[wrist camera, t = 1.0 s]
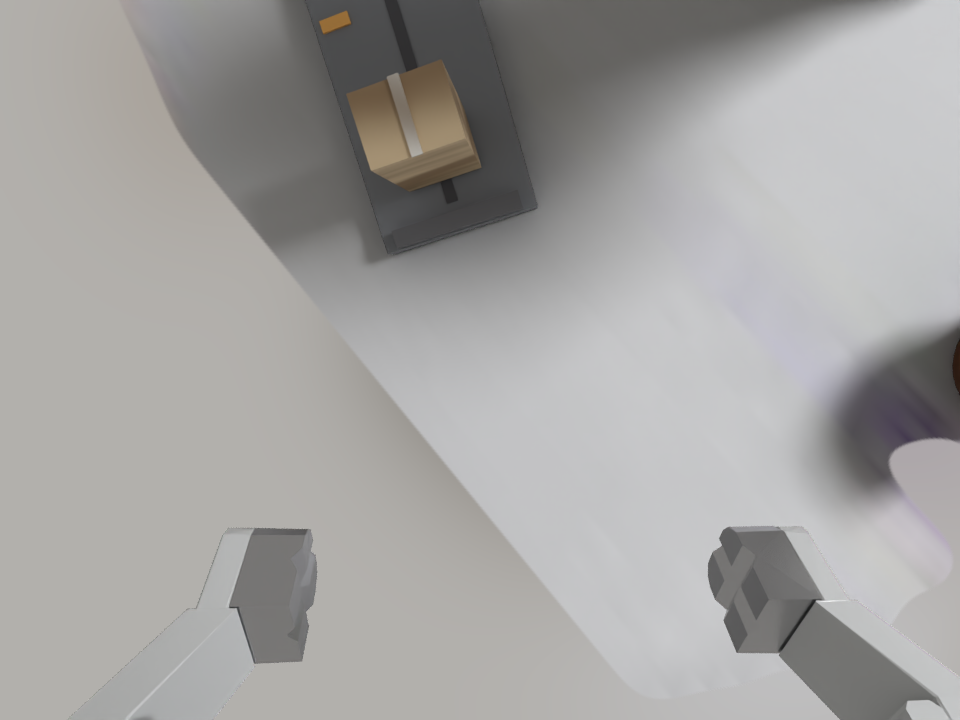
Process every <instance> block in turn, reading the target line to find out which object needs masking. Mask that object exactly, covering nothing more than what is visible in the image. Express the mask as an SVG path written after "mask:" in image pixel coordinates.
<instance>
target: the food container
mask: <svg viewBox="0 0 960 720" xmlns="http://www.w3.org/2000/svg"><path fill="white" fill-rule="evenodd" d="M953 377H954V381H955V385H956V388H957V390H958V392H959V394H960V339H959V342H958V344H957V346H956V349H955V353H954V358H953Z"/></svg>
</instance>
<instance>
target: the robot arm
mask: <svg viewBox="0 0 960 720" xmlns="http://www.w3.org/2000/svg"><path fill="white" fill-rule="evenodd" d="M719 539H720V541H721V544H722V546H721V547H720V548H718V549H717V550H715V551H714V552H713V553H712V555H711V558H710V560H709V563H708V578H709V583H710V588H711V590H712V593H713V595H714V598H715V600H716V601H718V602H719V603H720V604H721V605H722V606H723V607H724V608H725V609H727V611H726V614H725V617H724V623H725V625H726V628H727V630H728V633H729V635H730V637H731V640H732V642H733V645H734V647H735V650H736V652H737V653H780V654H779V656H780V657H781V658H782V660H783V661H784V662H785V663H786V664H787V665H788V666H789V667H790V668H791V669H792V670H793V671H794V672H795V673H796V674H797V675H798V676H799V677H800V678H801V679H802V680H803V681H804V682H805V684H806V685H807V686H808V687H809V688H810V689H811V690H812V691H813V692H814V693H815V694H816V695H817V696H818V697H819V698H820V699H821V700H822V701H823V702H824V703H825V704H826V705H827V707H829V709H830V710H831V711H832V712H833V713H834V714H835V715H836V716H837V717H838V718H839V719H840V720H960V677H959V676H958V675H957V674H955V673H954V672H953V671H951V670H950V669H949V668H947V667H946V666H945V665H943V664H942V663H941V662H939V661H938V660H936V659H935V658H934V657H933V656H931V655H930V654H929V653H927V652H926V651H924V650H923V649H922V648H920V647H919V646H918V645H917V644H915V643H914V642H913V641H911V640H910V639H909V638H907V637H906V636H905V635H903V634H902V633H901V632H899V631H898V630H897V629H895V628H894V627H893V626H891V625H890V624H889V623H887V622H886V621H885V620H883V619H882V618H881V617H879V616H878V615H877V614H875V613H874V612H873V611H871V610H870V609H869V608H867V607H866V606H865V605H863V604H862V603H861V602H859V601H858V600H850V599H849V597H848V596H847V594H846V593H845V591H844V589H843V588H842V586H841V584H840V583H839V581H838V579H837V578H836V576H835V575H834V573H833V571H832V570H831V568H830V566H829V565H828V563H827V561H826V560H825V558H824V557H823V555H822V553H821V552H820V550H819V548H818V547H817V545H816V543H815V542H814V540H813V539H812V537H811V535H810V534H809V532H808V531H807V530H806V529H804V528H803V527H797V526H794V527H774V526H750V527H727V528H726V529H724V530H723V531H722V534H721V536H720V538H719ZM312 542H313V538H312V533H311V530H310V529H275V528H228V529H227V530H226V531H225V533H224V534H223V536H222V538H221V541H220V543H219V546H218V549H217V552H216V554H215V557H214V560H213V563H212V566H211V569H210V571H209V574H208V577H207V579H206V582H205V585H204V588H203V590H202V593H201V596H200V599H199V602H198V604H197V607H196V608H192V609H187V610H186V611H185V612H184V613H182V614H181V615H180V616H179V617H178V618H177V619H176V620H175V621H174V622H173V623H172V624H171V625H169V626H168V627H167V628H166V629H165V630H164V631H163V632H162V633H161V634H160V635H159V636H157V637H156V638H155V639H154V640H153V641H152V642H151V643H150V644H149V645H148V646H146V647H145V648H144V649H143V650H142V651H141V652H140V653H139V654H138V655H137V656H136V657H135V658H134V659H132V660H131V661H130V662H129V663H128V664H127V665H126V666H125V667H124V668H123V669H121V670H120V671H119V672H118V673H117V674H116V675H115V676H114V677H113V678H112V679H111V680H110V681H108V682H107V683H106V684H105V685H104V686H103V687H102V688H101V689H100V690H99V691H98V692H96V693H95V694H94V695H93V696H92V697H91V698H90V699H89V700H88V701H87V702H86V703H85V704H84V705H82V706H81V707H80V708H79V709H78V710H77V711H76V712H75V713H74V714H73V715H71V716H70V717H69V718H68V719H67V720H213V719H214V718H215V717H216V716H217V714H218V713H219V712H220V710H221V709H222V708H223V707H224V705H225V704H226V703H227V701H228V700H229V699H230V698H231V696H232V695H233V694H234V693H235V691H236V690H237V689H238V687H239V686H240V685H241V684H242V683H243V681H244V680H245V679H246V677H247V676H248V675H249V673H250V672H251V671H252V670H253V669H254V667H255V665H254V664H256V663H257V664H258V663H279V662H299V661H302V659H303V654H304V649H305V643H306V638H307V633H308V628H309V625H308V620H307V614H306V611H307V610H308V609H309V608H310V607H311V606H312V605H313V602H314V596H315V590H316V579H317V562H316V555H315V554H314V553H312V552H311V547H312Z"/></svg>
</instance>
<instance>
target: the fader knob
mask: <svg viewBox="0 0 960 720" xmlns="http://www.w3.org/2000/svg"><path fill="white" fill-rule="evenodd" d="M346 95H347V98H348V101H349V104H350V107H351V110H352V114H353V117H354V120H355V123H356V126H357V129H358V132H359V135H360V138H361V141H362V145H363V148H364V151H365V154H366V157H367V160H368V163H369V166H370V169H371V171H372V172H374V173H376V174H378V175H379V176H381V177H383V178H385V179H387V180H389V181H390V182H392V183H394V184H396V185H398V186H400V187H402V188H403V189H405V190H407V191H409V192H411V191H414V190H417V189H420V188H423V187H426V186H429V185H432V184H435V183H438V182H441V181H444V180H447V179H450V178H453V177H456V176H459V175H462V174H465V173H468V172H471V171H474V170H477V169H480V168H482V167H481V164H480V160H479V157H478V154H477V150H476V147H475V144H474V140H473V137H472V133H471V130H470V127H469V123H468V120H467V117H466V113H465V110H464V107H463V105H462V103H461V101H460V99H459V96H458V94H457V92H456V90H455V88H454V85H453V83H452V81H451V79H450V77H449V74H448V72H447V70H446V68H445V66H444V64H443V61H442V59H441V60H438V61H435V62H433V63H430V64H427V65H424V66H422V67H419V68H416V69H413V70H411V71H408V72H405V73H402V74H400V75H399V74H398V73H395V74H392V75H390V76H387V79H386V80H383V81H380V82H378V83H375V84H372V85H370V86H367V87H364V88H361V89H359V90H356V91H353V92H350V93H348V94H346Z"/></svg>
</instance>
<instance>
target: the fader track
mask: <svg viewBox="0 0 960 720" xmlns="http://www.w3.org/2000/svg"><path fill="white" fill-rule="evenodd" d="M305 1H306V4H307V7H308V10H309V13H310V16H311V19H312V22H313V26H314V29H315V32H316V35H317V38H318V41H319V44H320V47H321V50H322V53H323V56H324V59H325V62H326V66H327V69H328V72H329V75H330V78H331V81H332V84H333V87H334V90H335V93H336V96H337V99H338V102H339V105H340V109H341V112H342V115H343V118H344V121H345V124H346V127H347V130H348V133H349V136H350V139H351V142H352V145H353V148H354V152H355V155H356V158H357V161H358V164H359V167H360V170H361V173H362V176H363V179H364V182H365V185H366V188H367V191H368V195H369V198H370V201H371V204H372V207H373V210H374V213H375V216H376V219H377V222H378V225H379V228H380V231H381V234H382V238H383V241H384V244H385V247H386V250H387V253H388V254H397V253H400V252H403V251H406V250H409V249H412V248H415V247H419V246H422V245H425V244H428V243H431V242H434V241H437V240H440V239H443V238H446V237H449V236H453V235H456V234H459V233H462V232H465V231H468V230H471V229H474V228H477V227H480V226H483V225H487V224H490V223H493V222H496V221H499V220H502V219H505V218H508V217H511V216H514V215H518V214H521V213H524V212H527V211H530V210H533V209H536V208H537V202H536V199H535V195H534V192H533V188H532V185H531V181H530V178H529V174H528V171H527V167H526V164H525V160H524V157H523V153H522V150H521V146H520V143H519V139H518V136H517V133H516V129H515V126H514V122H513V119H512V115H511V112H510V108H509V105H508V101H507V98H506V94H505V91H504V87H503V84H502V80H501V77H500V73H499V70H498V66H497V63H496V60H495V56H494V53H493V49H492V46H491V42H490V39H489V35H488V32H487V28H486V25H485V21H484V18H483V14H482V11H481V7H480V4H479V0H305ZM441 59H442V61H443V64H444V66H445V68H446V70H447V72H448V74H449V77H450V79H451V81H452V83H453V85H454V88H455V90H456V92H457V94H458V96H459V99H460V101H461V103H462V105H463V107H464V110H465V113H466V117H467V120H468V123H469V127H470V130H471V133H472V137H473V140H474V144H475V147H476V150H477V154H478V157H479V160H480V164H481V167H482V168H480V169H477V170H474V171H471V172H468V173H465V174H462V175H459V176H456V177H453V178H450V179H447V180H444V181H441V182H438V183H435V184H432V185H429V186H426V187H423V188H420V189H417V190H414V191H411V192H409V191H407V190H405V189H403V188H402V187H400V186H398V185H396V184H394V183H392V182H390V181H389V180H387V179H385V178H383V177H381V176H379V175H378V174H376V173H374V172H372V171H371V169H370V166H369V163H368V160H367V157H366V154H365V151H364V148H363V145H362V141H361V138H360V135H359V132H358V129H357V126H356V123H355V120H354V117H353V114H352V110H351V107H350V104H349V101H348V98H347V95H346V94H348V93H350V92H353V91H356V90H359V89H361V88H364V87H367V86H370V85H372V84H375V83H378V82H380V81H383V80H386V79H387V76H390V75H392V74H395V73H398V74H399V75H400V74H402V73H405V72H408V71H411V70H413V69H416V68H419V67H422V66H424V65H427V64H430V63H433V62H435V61H438V60H441Z"/></svg>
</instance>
